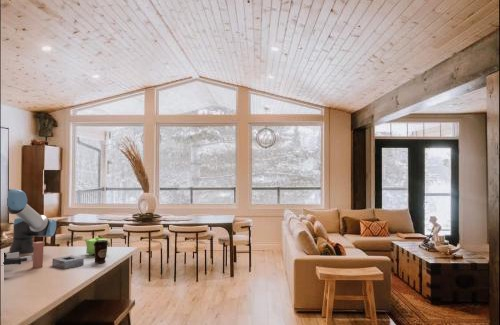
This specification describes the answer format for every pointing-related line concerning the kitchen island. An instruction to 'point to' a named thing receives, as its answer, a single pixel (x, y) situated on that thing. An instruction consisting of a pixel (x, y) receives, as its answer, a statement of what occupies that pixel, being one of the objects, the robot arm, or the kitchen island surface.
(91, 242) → the kettle
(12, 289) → the kitchen island surface
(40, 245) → the wedge pin
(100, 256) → the coffee cup
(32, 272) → the kitchen island surface
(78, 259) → the grey square frame
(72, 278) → the kitchen island surface
